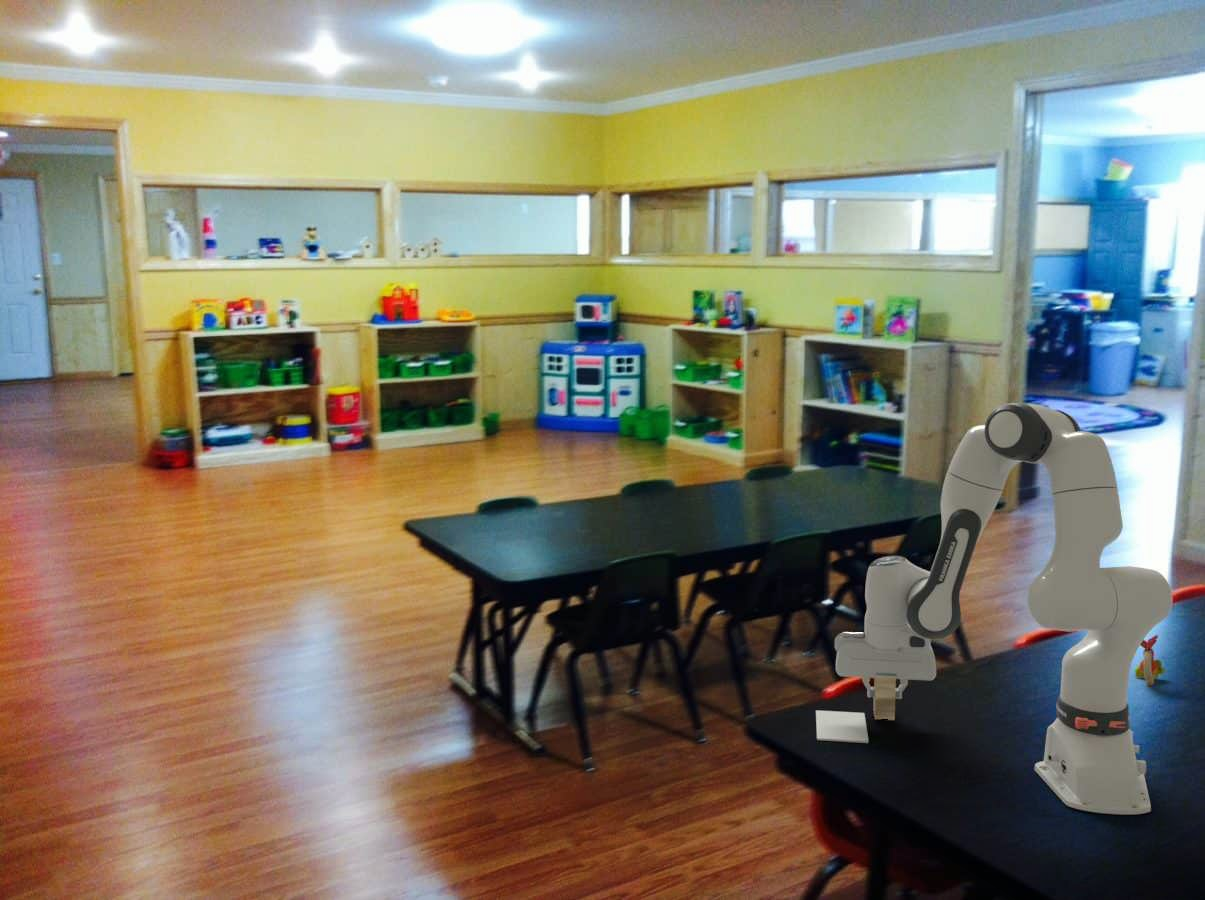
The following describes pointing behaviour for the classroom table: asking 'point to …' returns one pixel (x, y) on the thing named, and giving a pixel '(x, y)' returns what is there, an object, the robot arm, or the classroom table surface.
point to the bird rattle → (1149, 663)
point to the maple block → (884, 696)
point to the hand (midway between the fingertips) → (884, 697)
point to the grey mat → (841, 726)
